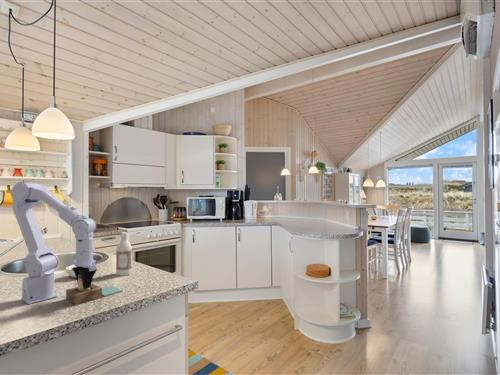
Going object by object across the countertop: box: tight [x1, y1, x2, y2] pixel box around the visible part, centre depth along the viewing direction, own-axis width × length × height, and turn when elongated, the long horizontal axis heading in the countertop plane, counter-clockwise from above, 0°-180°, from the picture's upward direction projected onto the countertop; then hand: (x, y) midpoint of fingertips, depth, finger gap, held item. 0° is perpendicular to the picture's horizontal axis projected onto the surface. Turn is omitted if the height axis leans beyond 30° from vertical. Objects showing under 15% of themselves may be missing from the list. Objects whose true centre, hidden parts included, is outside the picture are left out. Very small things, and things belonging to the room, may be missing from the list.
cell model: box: [65, 264, 76, 279], centre depth 135 cm, size 10×12×7 cm
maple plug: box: [77, 274, 90, 292], centre depth 108 cm, size 4×4×9 cm
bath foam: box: [115, 231, 133, 277], centre depth 140 cm, size 7×7×20 cm
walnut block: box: [65, 282, 103, 306], centre depth 108 cm, size 9×9×4 cm
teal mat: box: [101, 285, 123, 298], centre depth 115 cm, size 7×9×1 cm
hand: (84, 286), depth 108 cm, fingers closed on maple plug, 4 cm apart
